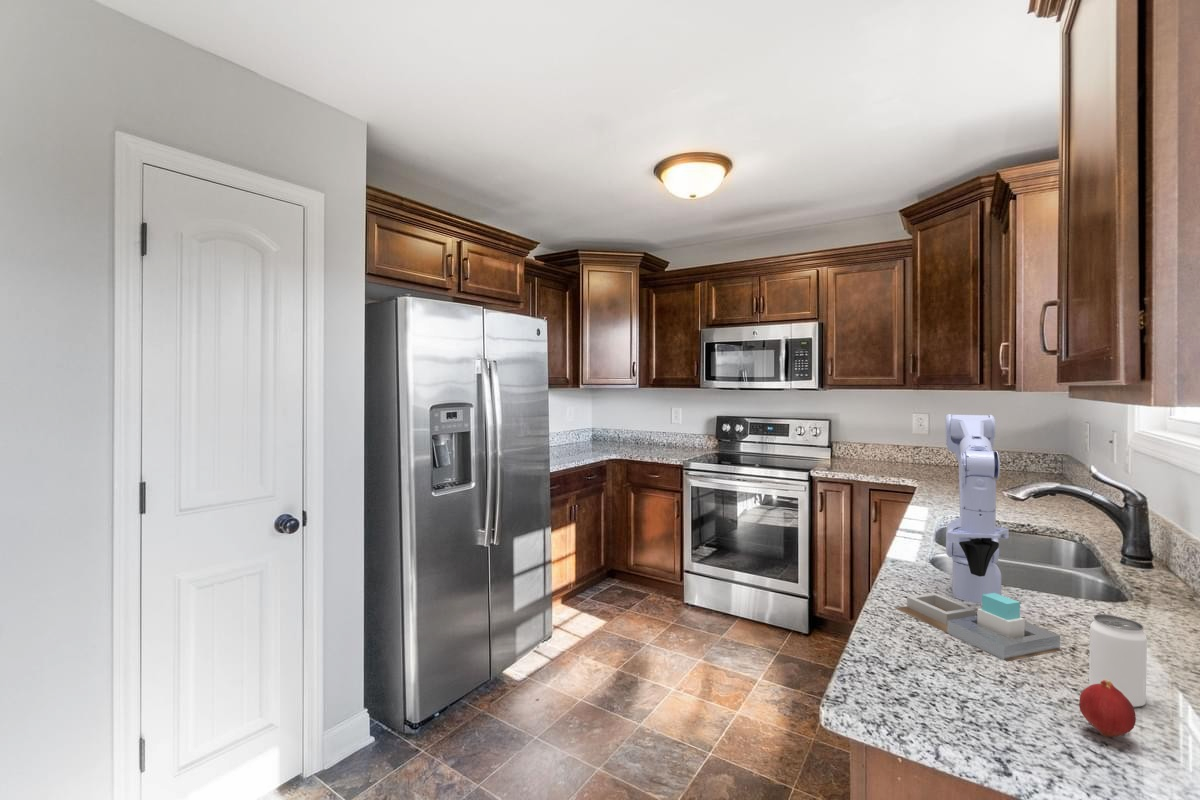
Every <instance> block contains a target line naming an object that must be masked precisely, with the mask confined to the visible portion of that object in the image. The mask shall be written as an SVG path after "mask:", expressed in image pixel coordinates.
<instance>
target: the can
mask: <svg viewBox="0 0 1200 800" xmlns="http://www.w3.org/2000/svg"><path fill="white" fill-rule="evenodd" d="M1093 619H1094V620H1093V621H1092V622H1091V624H1090V627H1089V628H1090V629H1089V660H1088V661H1089V667H1088V668H1089V674H1088V675H1089V677H1088V678H1089V679H1088V680H1089V681H1088V684H1089V685H1088V687H1089V686H1091V685H1093V684H1100V683H1101V681H1102V680H1108V681H1110V682H1111V683H1112V684H1113V686H1114V687H1115V688H1116V689H1118V690H1119V691H1120V692H1122V693H1123V695H1124V696H1125V697H1126V698H1127V699H1128V700H1129V701H1130V703H1131V704H1132V706H1133V708H1134V709H1135V708H1140V707H1142V706H1145V705H1146V701H1147V700H1146V699H1147V670H1148V669H1147V668H1148V667H1147V666H1148V665H1147V664H1148V663H1147V662H1148V661H1147V659H1148V657H1147V656H1148V639H1147V636H1146V634H1145V632H1144V626H1143V625H1142V624H1140V623H1139V622H1137V621H1136V620H1133V619H1129V618H1126V617H1123V616H1118V615H1114V614H1113V615H1112V614H1104V613H1100V614H1095V615H1093Z"/></svg>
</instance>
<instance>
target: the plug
mask: <svg viewBox="0 0 1200 800" xmlns="http://www.w3.org/2000/svg"><path fill="white" fill-rule="evenodd" d="M976 614H977V624H978V625H981V626H983V627H985V628H988V629H990V630H992V631H995V632H997V633H999V634H1002V635H1004V636H1006V637H1008V638H1011V639H1015V638H1021V637H1024V628H1025V622H1026V621H1025V618H1023V617H1021V602H1020V601H1018V600H1015V599H1012V598H1011V597H1010V598H1009V597H1007V596H1005V595H1002V594H1001V595H999V594H996V593H990V594H983V595H982V603H981V608H977V610H976Z"/></svg>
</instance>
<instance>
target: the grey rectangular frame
mask: <svg viewBox="0 0 1200 800" xmlns="http://www.w3.org/2000/svg"><path fill="white" fill-rule="evenodd" d="M906 598H907V599H906V600H907V602H906V606H907V607H908V608H911V609H913V610H915V611H917V612H919V613H921V614H924V615H926V616H928V617H930V618H932V619H934V620H937V621H939V622H941V623H943V624H945V625H947V620H952V619H959V618H965V617H971V616H976V614H977V610H976V608H972V607H971V606H968V605H966V604H963V603H961V602H958V601H956V600H953V599H950V598H948V597H945V596H943V595H941V594H938V593H936V592H931V593H926V594H918V595H911V596H907V597H906ZM933 605H936V606H938V607H940V608H943V609H945V610H947V612H946V611H944V610H942V609H939V608H937V607H935V606H933Z"/></svg>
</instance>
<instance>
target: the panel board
mask: <svg viewBox="0 0 1200 800" xmlns="http://www.w3.org/2000/svg"><path fill="white" fill-rule="evenodd" d="M933 606H935V607H937V608H939V609H942V610H944V611H946V612H947V610H945V609H943V608H940V607H938V606H936V605H933ZM895 609H896V610H898V611H900V612H902V613H904V614H906V615H908V616H910V617H913V618H914V619H917V620H919V621H920V622H923V623H925V624H928V625H930V626H931V627H934V628H935V629H938V630H940V631H942V632H944V633H946V634H948V633H947V625H945V624H943V623H941V622H939V621H937V620H934V619H932V618H930V617H928V616H926V615H924V614H921V613H919V612H917V611H915V610H913V609H911V608H908V607H907V605H906V606H901V607H895ZM976 616H977V613H976ZM949 635H950V636H952V637H955V636H953V635H951V634H949ZM955 638H957V637H955ZM957 639H959V638H957ZM959 640H960V639H959ZM970 645H971V646H973V647H975V648H978V647H976V646H974V645H972V644H970ZM978 649H980V648H978ZM980 650H981V649H980ZM1061 651H1063V649H1061V648H1060V649H1056V650H1051V651H1046V652H1041V653H1036V654H1031V655H1026V656H1021V657H1017V658H1012V659H1007V660H1003V659H1001V658H999V657H997V656H995V655H993V654H991V655H993V656H994V657H997V658H998V659H1000V660H1002V661H1005V662H1012V661H1017V660H1022V659H1026V658H1031V657H1037V656H1041V655H1046V654H1051V653H1057V652H1061ZM1060 655H1063V653H1062V654H1060ZM1056 656H1058V654H1056V655H1055V657H1056ZM1050 657H1053V655H1051V656H1050ZM1045 658H1048V657H1045ZM1042 659H1044V657H1042V658H1041V660H1042ZM1036 660H1039V658H1038V659H1036ZM1031 661H1034V660H1031ZM1027 662H1029V661H1026V663H1027ZM1022 663H1024V662H1021V664H1022ZM1016 664H1018V665H1019V663H1016ZM1012 665H1015V663H1014V664H1012ZM1009 666H1010V665H1009V664H1008V665H1007V667H1009Z"/></svg>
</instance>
